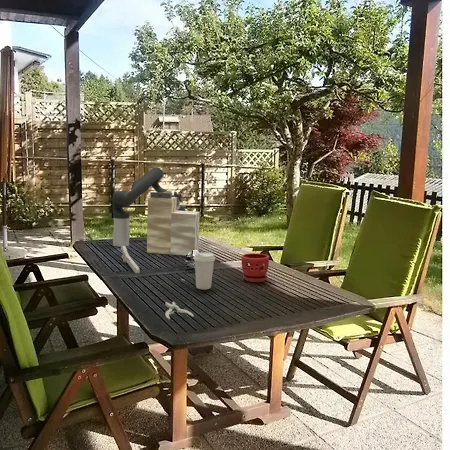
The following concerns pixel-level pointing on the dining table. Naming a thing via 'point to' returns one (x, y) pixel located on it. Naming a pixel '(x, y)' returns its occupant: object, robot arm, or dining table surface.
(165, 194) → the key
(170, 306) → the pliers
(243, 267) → the plant pot
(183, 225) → the step stand
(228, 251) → the dining table surface
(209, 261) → the coffee cup
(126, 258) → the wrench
